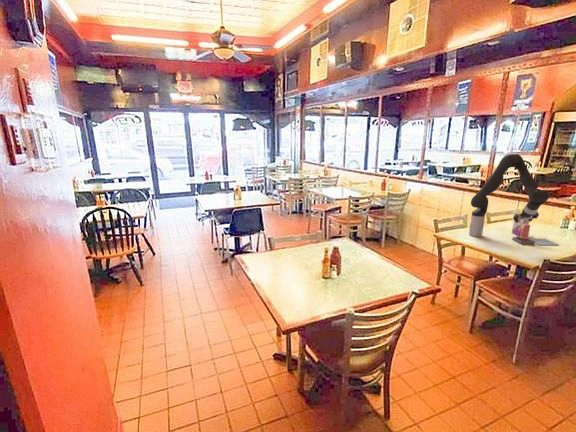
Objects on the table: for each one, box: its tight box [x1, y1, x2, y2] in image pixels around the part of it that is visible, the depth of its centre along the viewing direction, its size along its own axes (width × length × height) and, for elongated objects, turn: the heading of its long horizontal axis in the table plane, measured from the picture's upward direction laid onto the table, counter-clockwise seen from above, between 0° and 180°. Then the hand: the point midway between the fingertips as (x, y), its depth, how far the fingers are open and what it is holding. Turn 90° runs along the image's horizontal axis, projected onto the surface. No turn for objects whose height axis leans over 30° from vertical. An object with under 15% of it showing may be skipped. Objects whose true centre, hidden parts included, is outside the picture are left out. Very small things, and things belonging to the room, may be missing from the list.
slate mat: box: [530, 238, 559, 246], centre depth 239 cm, size 14×14×1 cm
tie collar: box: [512, 235, 536, 245], centre depth 241 cm, size 12×10×2 cm
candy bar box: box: [511, 217, 530, 237], centre depth 255 cm, size 11×5×16 cm, turn 179°
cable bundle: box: [519, 224, 531, 241], centre depth 239 cm, size 5×5×14 cm
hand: (522, 221), depth 230 cm, fingers open, 8 cm apart
